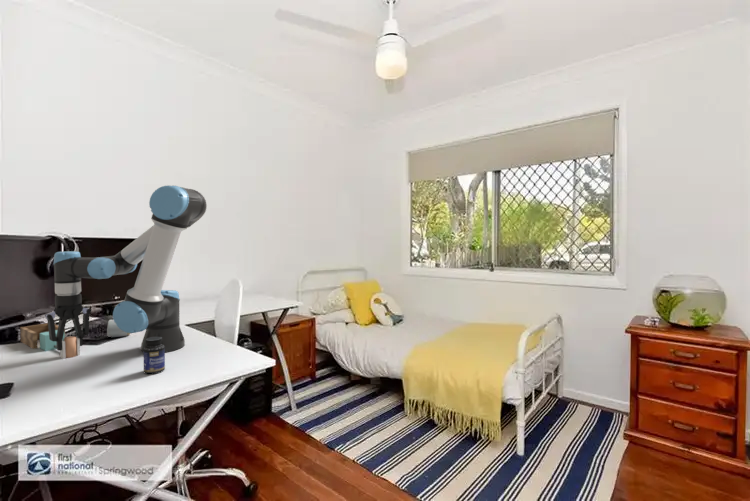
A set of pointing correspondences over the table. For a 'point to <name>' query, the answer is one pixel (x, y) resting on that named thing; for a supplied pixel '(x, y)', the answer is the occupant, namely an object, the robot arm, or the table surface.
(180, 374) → the table surface
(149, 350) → the pill bottle
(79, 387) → the table surface
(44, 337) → the tethered block
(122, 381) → the table surface
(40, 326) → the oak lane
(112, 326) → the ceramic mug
